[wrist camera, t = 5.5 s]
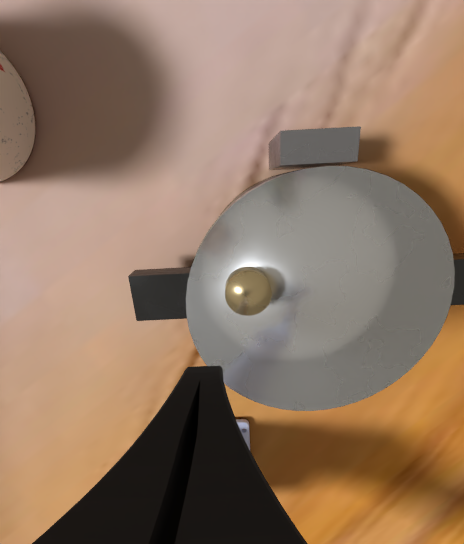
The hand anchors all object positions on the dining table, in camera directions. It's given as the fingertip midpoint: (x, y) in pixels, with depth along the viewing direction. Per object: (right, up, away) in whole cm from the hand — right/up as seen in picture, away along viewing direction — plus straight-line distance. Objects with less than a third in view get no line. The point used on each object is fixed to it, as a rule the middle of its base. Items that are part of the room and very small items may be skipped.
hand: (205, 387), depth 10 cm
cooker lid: (+6, +3, +6) cm, 9 cm away
